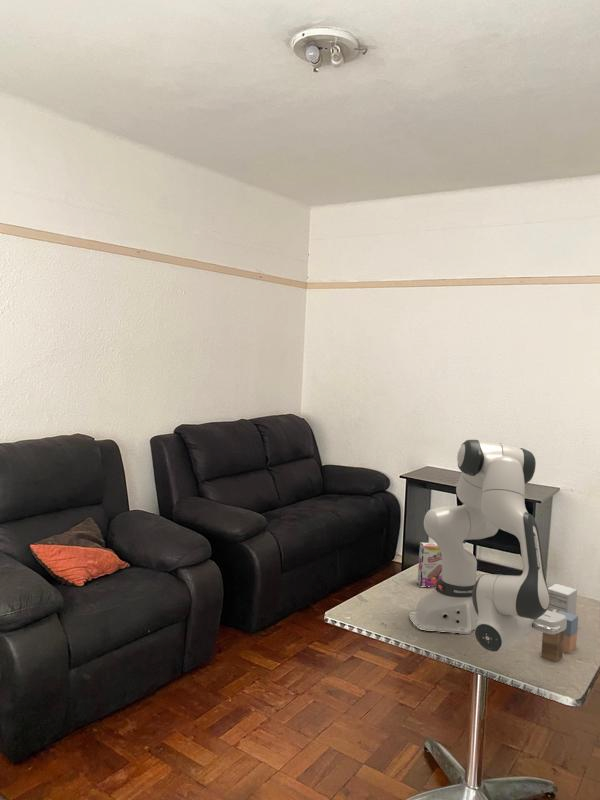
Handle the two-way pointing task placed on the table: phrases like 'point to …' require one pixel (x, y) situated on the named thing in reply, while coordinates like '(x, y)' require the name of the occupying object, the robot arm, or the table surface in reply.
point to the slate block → (570, 624)
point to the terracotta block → (569, 643)
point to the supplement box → (562, 598)
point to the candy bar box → (429, 564)
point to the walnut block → (552, 646)
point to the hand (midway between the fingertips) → (537, 606)
